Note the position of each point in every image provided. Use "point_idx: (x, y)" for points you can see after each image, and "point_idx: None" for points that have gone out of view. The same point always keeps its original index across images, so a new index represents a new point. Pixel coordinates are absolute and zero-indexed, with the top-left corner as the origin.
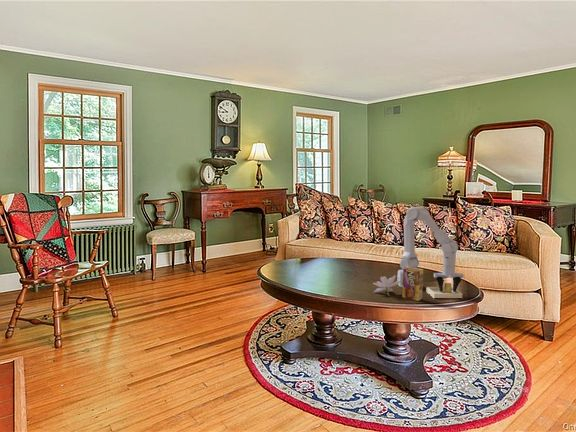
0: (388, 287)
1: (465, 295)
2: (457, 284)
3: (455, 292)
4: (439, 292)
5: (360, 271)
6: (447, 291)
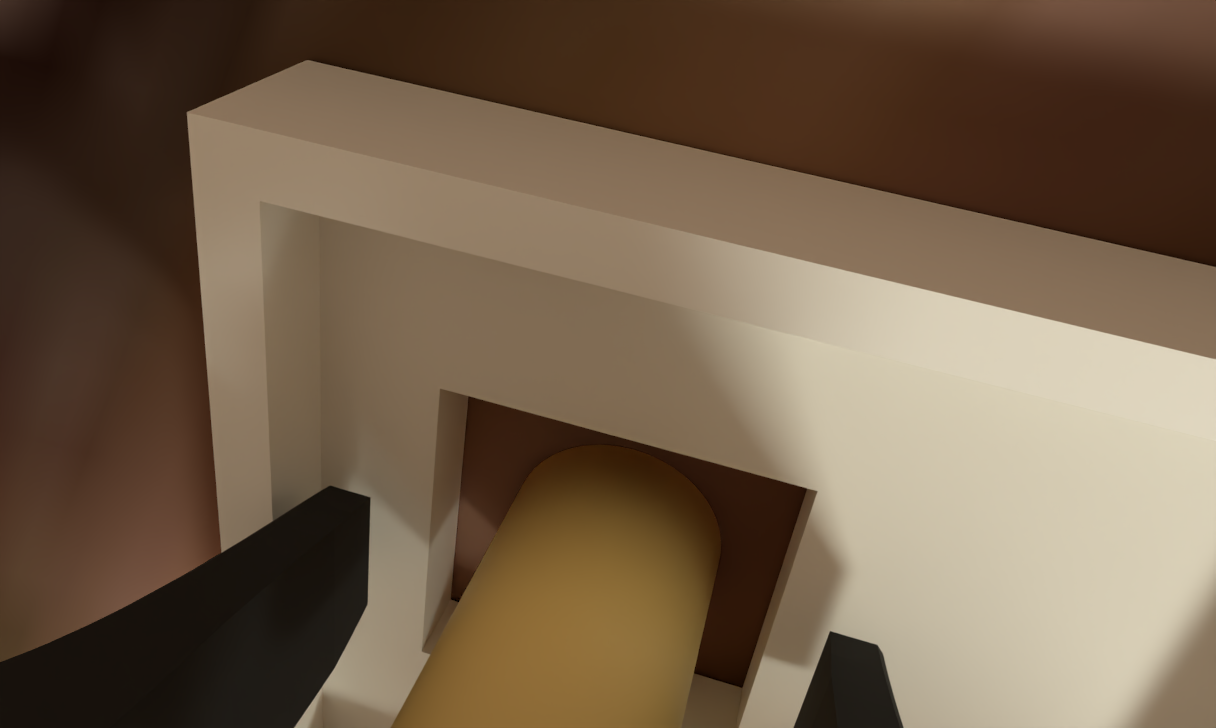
0: None
1: (82, 356)
2: (84, 663)
3: None
4: None
5: None
6: (638, 575)
